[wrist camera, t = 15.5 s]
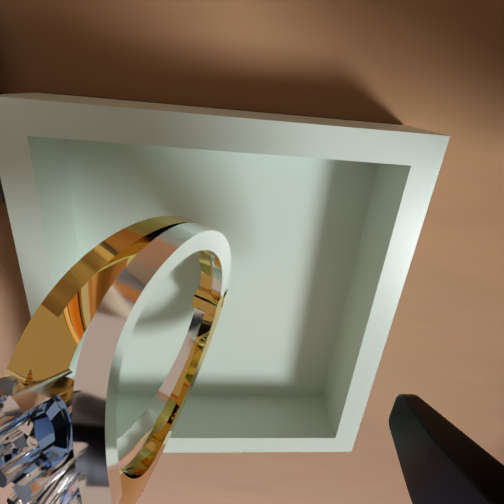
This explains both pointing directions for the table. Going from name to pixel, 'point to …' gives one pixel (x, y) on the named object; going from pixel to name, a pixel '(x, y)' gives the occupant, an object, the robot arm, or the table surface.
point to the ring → (103, 368)
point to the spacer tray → (231, 250)
